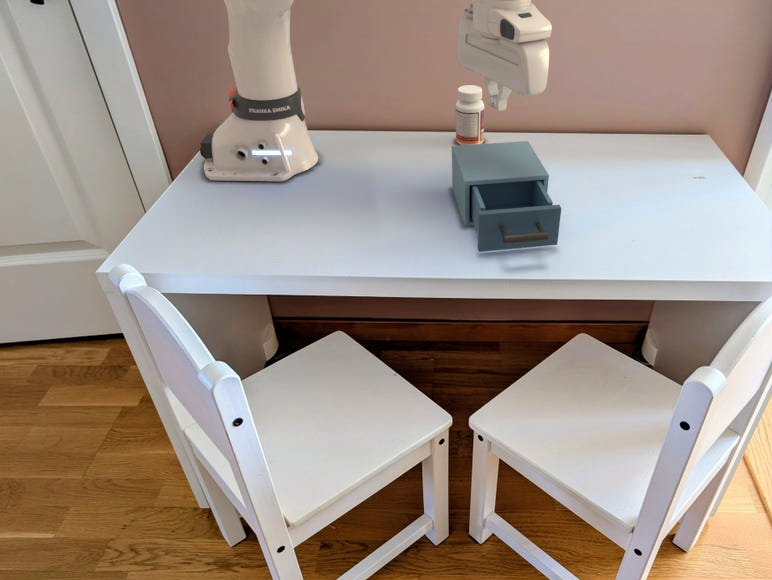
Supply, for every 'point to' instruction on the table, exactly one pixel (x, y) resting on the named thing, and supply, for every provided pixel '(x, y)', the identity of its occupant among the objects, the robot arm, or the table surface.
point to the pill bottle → (469, 116)
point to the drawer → (513, 215)
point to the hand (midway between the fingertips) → (497, 107)
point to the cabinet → (492, 168)
